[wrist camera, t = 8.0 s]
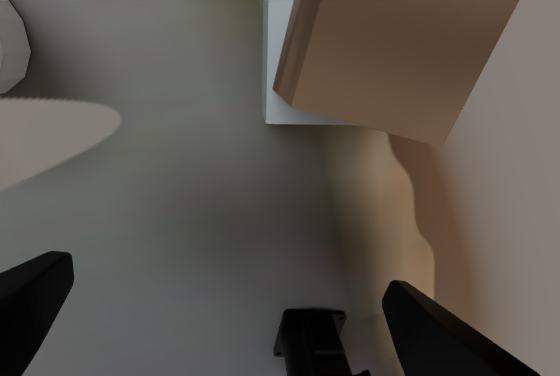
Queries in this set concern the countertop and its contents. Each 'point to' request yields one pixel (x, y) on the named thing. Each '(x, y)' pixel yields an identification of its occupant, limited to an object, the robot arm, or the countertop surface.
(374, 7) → the walnut cube
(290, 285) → the countertop surface
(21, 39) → the white cup
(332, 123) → the riser block
